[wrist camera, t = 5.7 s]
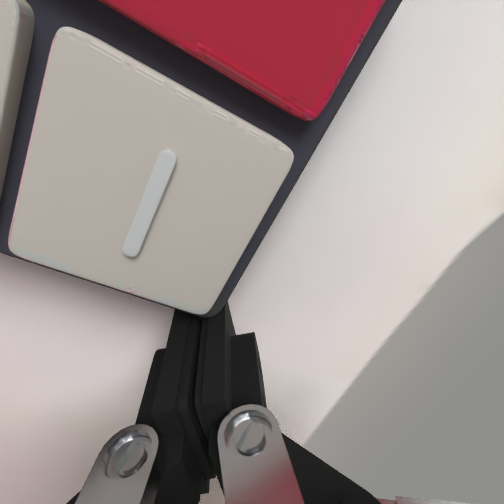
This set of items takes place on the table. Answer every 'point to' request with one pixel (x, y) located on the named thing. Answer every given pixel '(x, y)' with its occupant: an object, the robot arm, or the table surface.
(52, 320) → the table surface
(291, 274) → the table surface
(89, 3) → the calculator
